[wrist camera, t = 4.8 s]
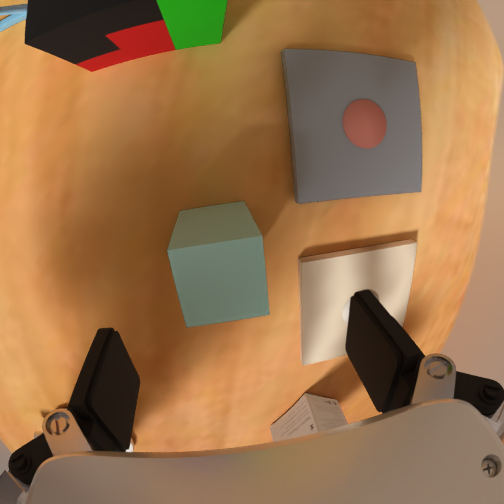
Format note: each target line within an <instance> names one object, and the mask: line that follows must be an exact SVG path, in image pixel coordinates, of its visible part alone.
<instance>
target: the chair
mask: <svg viewBox="0 0 504 504" xmlns="http://www.w3.org/2000/svg"><path fill="white" fill-rule="evenodd" d="M27 5H28V4H22V5H13V6H4V7H0V15H9V14H12V15H10V16H8V17H6V18H5V19H3V20H1V21H0V32H1V31H3V30H5V29H7V28H9V27H10V26H12V25H14V24H16V23H18V22H21V21H23V20H25V19H26V15H27Z"/></svg>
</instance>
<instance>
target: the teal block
mask: <svg viewBox="0 0 504 504" xmlns="http://www.w3.org/2000/svg"><path fill="white" fill-rule="evenodd" d="M167 252H168V257H169V261H170V265H171V270H172V274H173V278H174V282H175V286H176V290H177V294H178V298H179V301H180V305H181V309H182V313H183V316H184V320H185V324H186V327H194V326H201V325H209V324H215V323H222V322H229V321H235V320H241V319H248V318H254V317H260V316H265V315H270V313H269V301H268V290H267V279H266V269H265V258H264V247H263V237H262V234H261V232H260V230H259V228H258V226H257V225H256V223H255V221H254V219H253V217H252V215H251V213H250V211H249V209H248V207H247V205H246V203H245V202H244V201H240V202H233V203H226V204H220V205H213V206H206V207H200V208H193V209H187V210H181V211H180V212H179V215H178V218H177V221H176V224H175V227H174V230H173V233H172V236H171V239H170V243H169V246H168V249H167Z"/></svg>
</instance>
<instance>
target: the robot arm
mask: <svg viewBox="0 0 504 504" xmlns="http://www.w3.org/2000/svg"><path fill="white" fill-rule="evenodd" d="M345 349H346V353H347V355H348V357H349V358H350V360H351V362H352V364H353V366H354V368H355V370H356V371H357V373H358V375H359V377H360V379H361V381H362V383H363V385H364V386H365V388H366V390H367V392H368V394H369V396H370V398H371V400H372V402H373V404H374V406H375V407H376V409H377V411H378V412H382V413H383V414H380V415H377V416H374V417H371V418H368V419H365V420H361V421H358V422H355V423H351V424H348V425H344V426H341V427H337V428H334V429H330V430H326V431H322V432H318V433H314V434H310V435H305V436H301V437H296V438H291V439H286V440H281V441H276V442H270V443H264V444H258V445H251V446H244V447H236V448H227V449H217V450H205V451H189V452H133V449H134V441H133V439H132V437H131V435H132V428H133V422H134V415H135V409H136V403H137V398H138V392H139V387H140V378H139V375H138V373H137V371H136V369H135V367H134V365H133V363H132V361H131V359H130V357H129V355H128V353H127V350H126V348H125V346H124V344H123V342H122V339H121V337H120V335H119V333H118V331H114V329H113V328H100V329H98V331H97V333H96V336H95V338H94V340H93V343H92V345H91V347H90V350H89V352H88V354H87V357H86V359H85V362H84V364H83V367H82V369H81V372H80V375H79V377H78V380H77V382H76V385H75V388H74V391H73V393H72V396H71V399H70V402H69V405H68V408H64V409H62V408H61V409H56V410H53V411H51V412H50V413H49V414H48V415H47V416H46V417H45V419H44V421H43V425H42V429H43V432H39V431H36V432H35V433H34V439H33V440H32V441H30V442H28V443H27V444H25V445H24V446H22V447H21V448H19V449H17V450H16V451H15V452H14V453H12V455H11V457H10V459H9V471H8V472H7V471H6V470H5V471H4V472H3V473H2V474H1V475H0V504H504V389H503V387H502V386H501V385H500V384H499V383H498V382H496V381H494V380H491V379H487V378H483V377H478V376H474V375H470V374H465V373H462V372H457V371H456V366H455V364H454V362H453V361H452V360H451V359H450V358H449V357H447V356H446V355H443V354H438V353H434V354H429V355H427V356H425V355H424V354H423V353H422V351H421V350H420V349H419V348H418V346H417V345H416V344H415V342H414V341H413V340H412V339H411V337H410V336H409V335H408V334H407V333H406V331H405V330H404V329H403V328H402V326H401V325H400V324H399V323H398V321H397V320H396V319H395V318H394V317H393V316H391V315H390V314H389V312H388V311H387V310H386V309H385V308H384V306H383V305H382V304H381V303H380V302H379V300H378V299H377V298H376V297H375V296H374V294H373V293H372V292H371V291H370V290H369V289H367V290H362V291H357V292H355V293H354V296H352V297H351V298H350V307H349V317H348V327H347V335H346V343H345Z"/></svg>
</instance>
